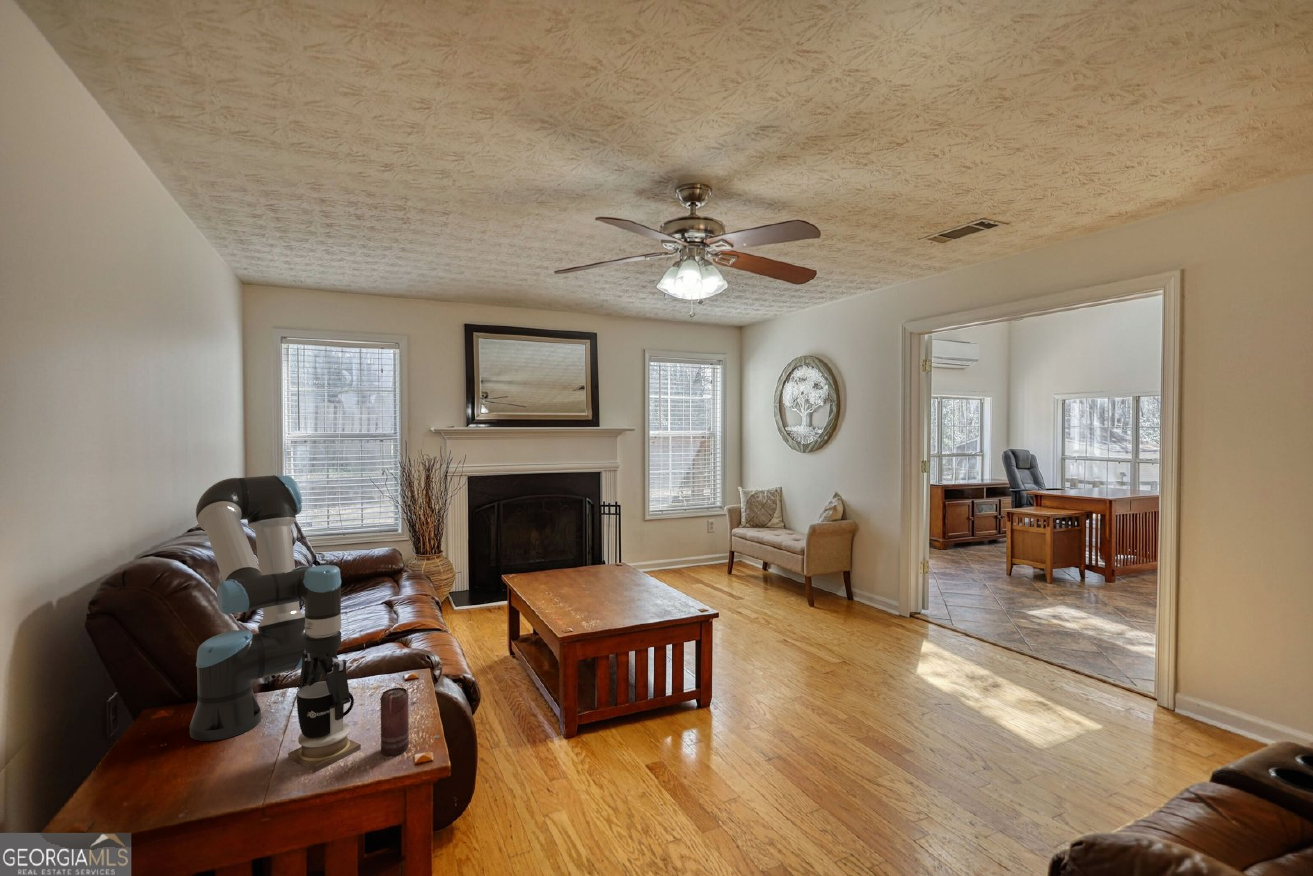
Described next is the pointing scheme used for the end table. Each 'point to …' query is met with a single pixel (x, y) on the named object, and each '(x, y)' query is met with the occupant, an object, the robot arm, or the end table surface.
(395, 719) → the can
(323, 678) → the robot arm
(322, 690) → the mug
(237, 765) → the end table surface
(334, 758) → the stand
